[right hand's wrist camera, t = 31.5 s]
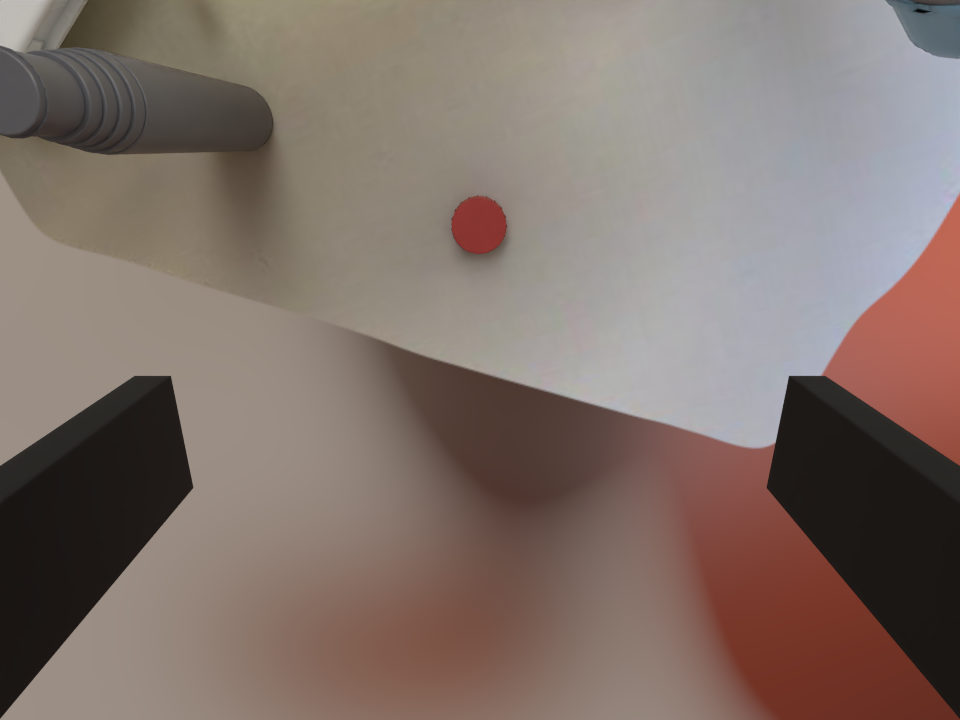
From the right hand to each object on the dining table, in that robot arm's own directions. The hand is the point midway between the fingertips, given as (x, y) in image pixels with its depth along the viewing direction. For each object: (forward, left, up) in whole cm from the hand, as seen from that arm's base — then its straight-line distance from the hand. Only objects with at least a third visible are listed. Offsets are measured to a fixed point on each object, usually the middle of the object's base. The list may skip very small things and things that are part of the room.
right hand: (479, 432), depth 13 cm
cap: (0, 0, -35) cm, 35 cm away
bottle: (-3, -20, -37) cm, 42 cm away
